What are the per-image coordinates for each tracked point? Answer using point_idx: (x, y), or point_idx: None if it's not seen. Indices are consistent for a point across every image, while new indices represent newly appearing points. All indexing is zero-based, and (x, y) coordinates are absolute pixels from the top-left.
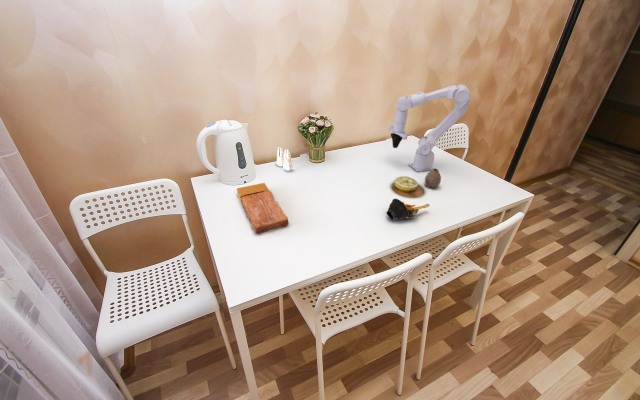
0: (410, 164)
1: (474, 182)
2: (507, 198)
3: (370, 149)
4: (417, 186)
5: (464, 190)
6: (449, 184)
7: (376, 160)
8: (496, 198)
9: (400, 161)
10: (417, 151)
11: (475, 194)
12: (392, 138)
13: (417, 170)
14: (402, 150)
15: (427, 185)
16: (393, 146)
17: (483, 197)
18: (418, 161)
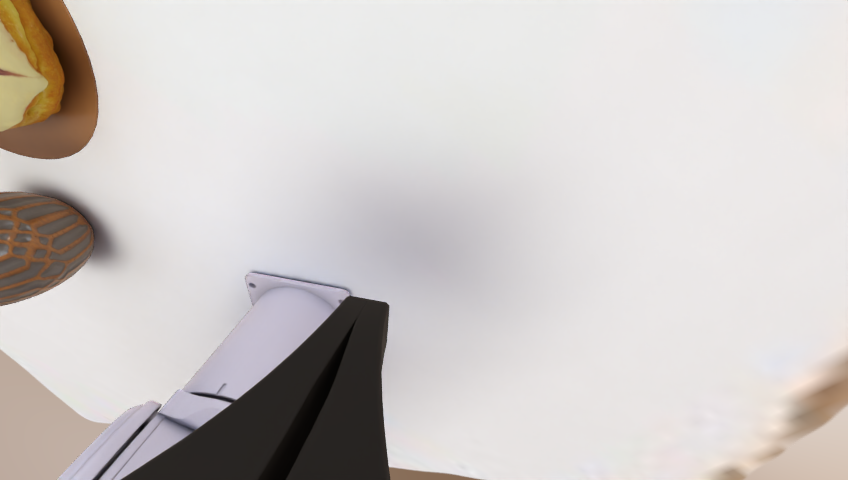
0: (341, 297)
1: (153, 387)
2: (51, 382)
3: (812, 204)
4: (27, 132)
5: (68, 320)
6: (113, 309)
7: (545, 90)
8: (37, 360)
9: (422, 278)
10: (215, 412)
11: (44, 330)
12: (338, 473)
13: (251, 279)
14: (560, 386)
15: (19, 192)
16: (354, 310)
17: (28, 335)
18: (235, 333)
